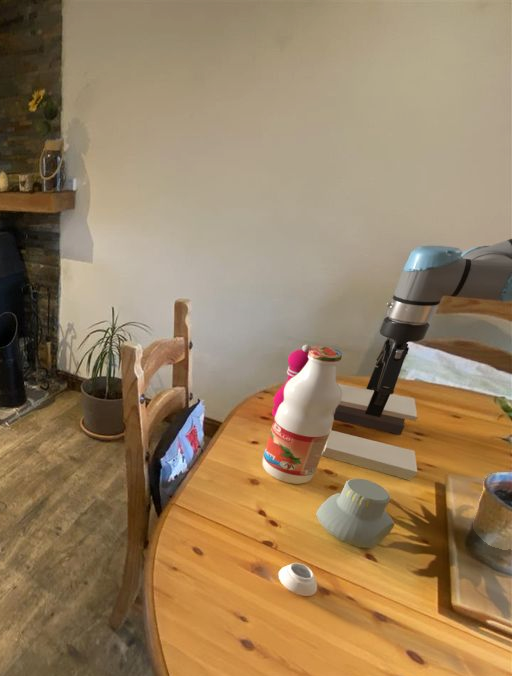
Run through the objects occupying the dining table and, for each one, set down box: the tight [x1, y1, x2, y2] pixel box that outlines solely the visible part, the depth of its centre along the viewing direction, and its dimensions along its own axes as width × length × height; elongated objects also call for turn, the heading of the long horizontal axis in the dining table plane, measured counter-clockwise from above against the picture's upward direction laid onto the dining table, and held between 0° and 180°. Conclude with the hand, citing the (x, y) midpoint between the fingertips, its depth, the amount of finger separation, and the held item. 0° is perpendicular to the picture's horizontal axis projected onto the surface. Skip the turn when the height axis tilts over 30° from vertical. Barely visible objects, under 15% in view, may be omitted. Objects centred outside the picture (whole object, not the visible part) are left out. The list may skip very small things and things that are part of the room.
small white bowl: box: [278, 562, 318, 597], centre depth 65 cm, size 5×3×5 cm
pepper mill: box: [271, 344, 312, 418], centre depth 103 cm, size 7×7×20 cm
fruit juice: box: [261, 346, 343, 485], centre depth 83 cm, size 9×9×28 cm
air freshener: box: [315, 478, 395, 549], centre depth 72 cm, size 11×8×10 cm
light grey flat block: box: [321, 429, 418, 481], centre depth 91 cm, size 15×8×2 cm, turn 52°
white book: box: [338, 383, 418, 422], centre depth 101 cm, size 15×10×1 cm, turn 52°
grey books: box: [333, 405, 406, 436], centre depth 103 cm, size 13×7×5 cm, turn 52°
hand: (372, 402), depth 101 cm, fingers open, 13 cm apart
